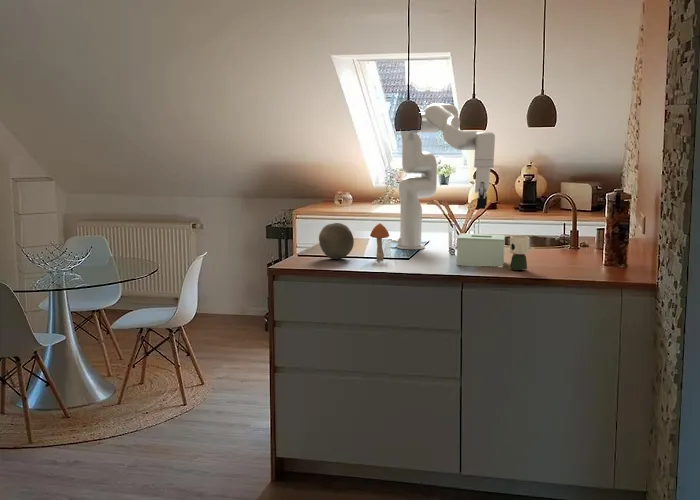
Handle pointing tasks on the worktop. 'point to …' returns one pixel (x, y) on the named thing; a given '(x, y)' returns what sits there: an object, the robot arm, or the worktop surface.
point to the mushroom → (379, 238)
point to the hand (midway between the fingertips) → (481, 207)
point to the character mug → (519, 252)
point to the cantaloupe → (336, 240)
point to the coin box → (480, 250)
